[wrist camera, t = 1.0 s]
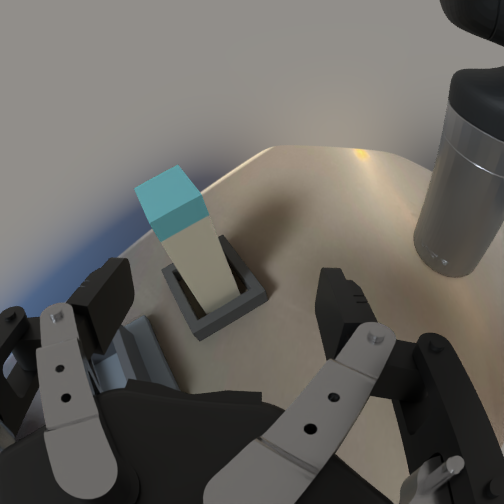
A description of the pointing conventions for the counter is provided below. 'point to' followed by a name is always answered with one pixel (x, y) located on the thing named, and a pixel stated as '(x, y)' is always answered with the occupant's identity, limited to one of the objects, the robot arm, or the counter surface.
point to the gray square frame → (227, 311)
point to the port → (133, 358)
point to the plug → (188, 236)
